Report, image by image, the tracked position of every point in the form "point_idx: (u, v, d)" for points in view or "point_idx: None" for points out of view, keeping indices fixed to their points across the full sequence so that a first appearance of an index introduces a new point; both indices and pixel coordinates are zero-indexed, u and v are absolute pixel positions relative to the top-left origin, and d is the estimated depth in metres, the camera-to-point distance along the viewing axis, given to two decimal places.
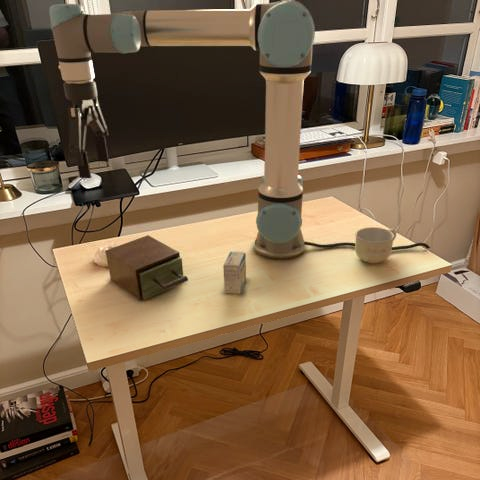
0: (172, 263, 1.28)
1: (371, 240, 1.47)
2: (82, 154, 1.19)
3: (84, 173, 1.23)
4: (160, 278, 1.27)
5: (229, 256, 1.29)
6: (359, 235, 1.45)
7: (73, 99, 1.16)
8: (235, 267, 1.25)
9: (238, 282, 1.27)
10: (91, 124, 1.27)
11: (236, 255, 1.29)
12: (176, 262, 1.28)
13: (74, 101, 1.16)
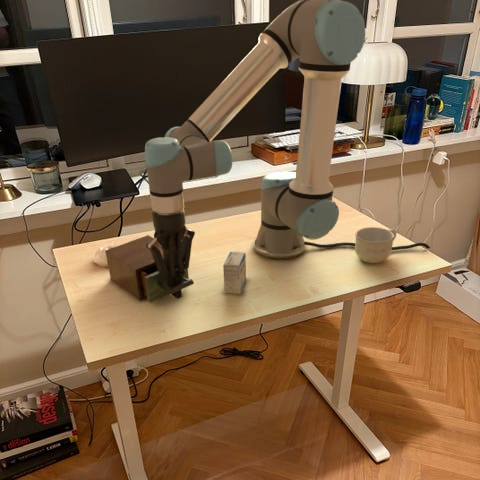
0: None
1: (371, 240, 1.47)
2: (172, 278, 1.21)
3: (174, 293, 1.25)
4: (166, 282, 1.26)
5: (229, 256, 1.29)
6: (359, 235, 1.45)
7: (154, 227, 1.13)
8: (235, 267, 1.25)
9: (238, 282, 1.27)
10: (173, 254, 1.20)
11: (236, 255, 1.29)
12: None
13: (155, 229, 1.13)
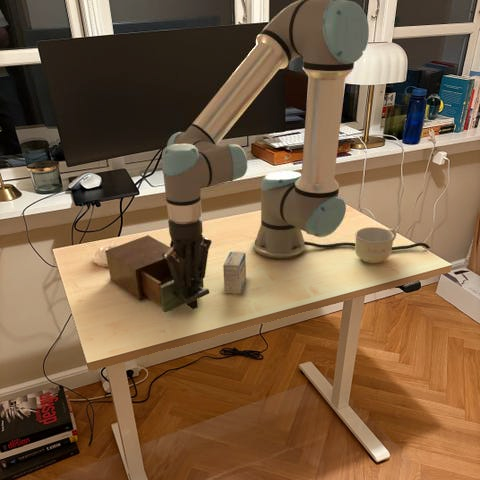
0: None
1: (371, 240, 1.47)
2: (188, 288, 1.18)
3: (189, 303, 1.21)
4: (181, 291, 1.22)
5: (229, 256, 1.29)
6: (359, 235, 1.45)
7: (171, 236, 1.09)
8: (235, 267, 1.25)
9: (238, 282, 1.27)
10: (189, 263, 1.16)
11: (236, 255, 1.29)
12: None
13: (172, 238, 1.09)
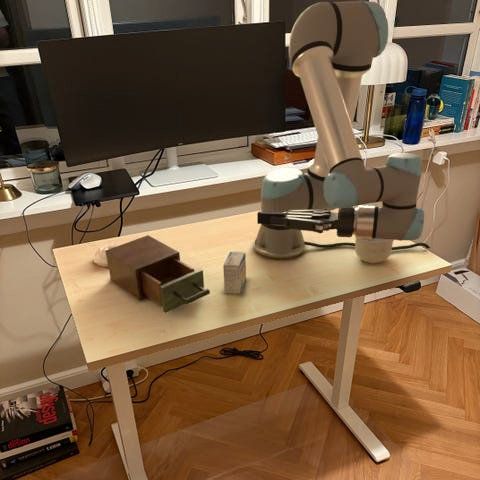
0: (193, 275, 1.22)
1: (371, 240, 1.47)
2: None
3: None
4: (181, 291, 1.22)
5: (229, 256, 1.29)
6: None
7: None
8: (235, 267, 1.25)
9: (238, 282, 1.27)
10: None
11: (236, 255, 1.29)
12: (197, 274, 1.23)
13: None
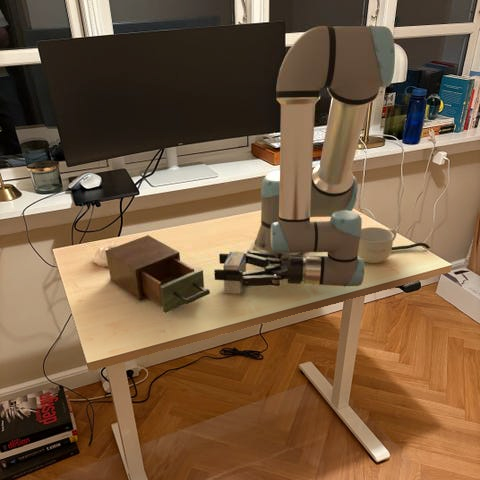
0: (193, 275, 1.22)
1: (371, 240, 1.47)
2: None
3: None
4: (181, 291, 1.22)
5: (229, 256, 1.29)
6: None
7: None
8: (235, 267, 1.25)
9: (238, 282, 1.27)
10: None
11: (236, 255, 1.29)
12: (197, 274, 1.23)
13: None
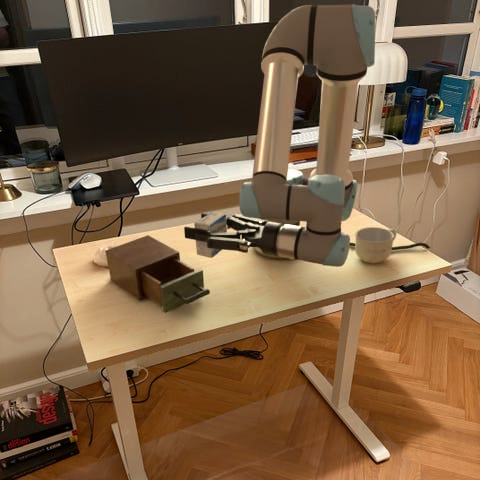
0: (193, 275, 1.22)
1: (371, 240, 1.47)
2: None
3: None
4: (181, 291, 1.22)
5: (206, 215, 1.19)
6: (359, 235, 1.45)
7: None
8: (205, 226, 1.14)
9: None
10: None
11: (214, 215, 1.19)
12: (197, 274, 1.23)
13: None
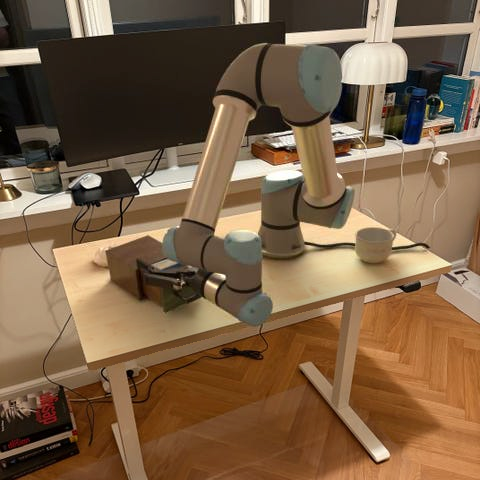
0: None
1: (371, 240, 1.47)
2: None
3: None
4: None
5: None
6: (359, 235, 1.45)
7: None
8: None
9: None
10: None
11: None
12: None
13: None
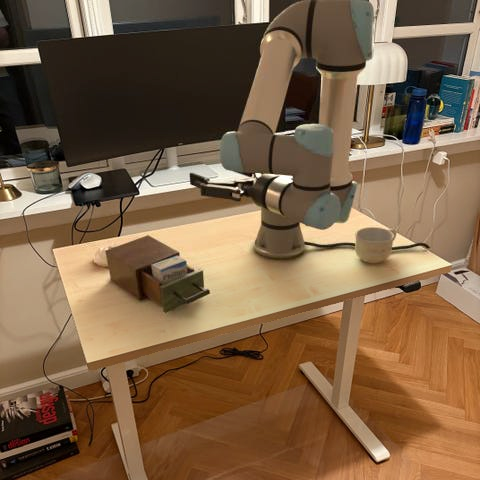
0: (193, 275, 1.22)
1: (371, 240, 1.47)
2: None
3: None
4: (181, 291, 1.22)
5: (168, 259, 1.24)
6: (359, 235, 1.45)
7: None
8: (157, 270, 1.20)
9: None
10: None
11: (174, 260, 1.23)
12: (197, 274, 1.23)
13: None
